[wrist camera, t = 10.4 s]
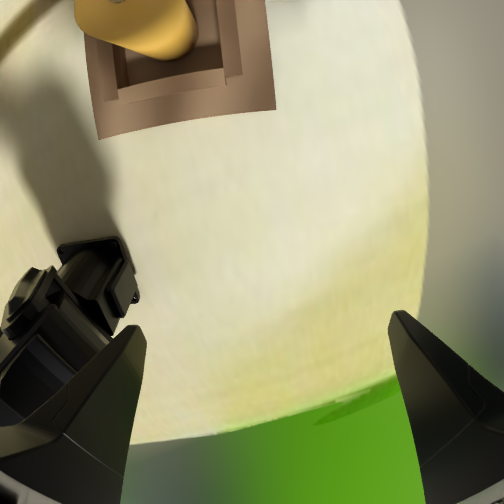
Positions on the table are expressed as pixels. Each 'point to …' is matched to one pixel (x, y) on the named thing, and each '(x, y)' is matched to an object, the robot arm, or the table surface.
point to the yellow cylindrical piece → (141, 25)
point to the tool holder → (186, 72)
